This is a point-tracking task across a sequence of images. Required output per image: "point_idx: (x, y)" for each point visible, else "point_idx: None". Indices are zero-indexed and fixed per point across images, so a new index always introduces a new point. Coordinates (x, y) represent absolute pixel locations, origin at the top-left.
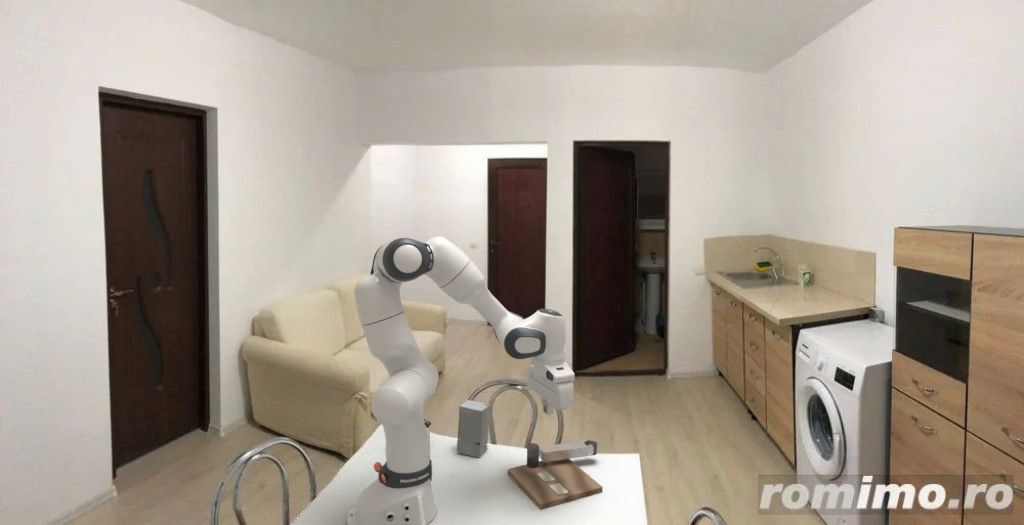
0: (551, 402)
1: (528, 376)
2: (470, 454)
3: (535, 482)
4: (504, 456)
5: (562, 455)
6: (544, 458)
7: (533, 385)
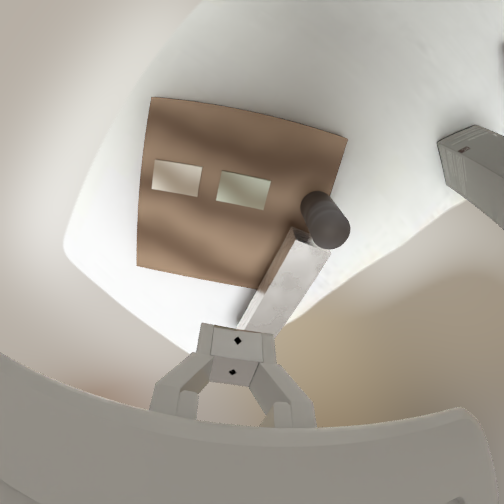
0: (64, 398)
1: (483, 474)
2: (455, 134)
3: (241, 149)
4: (403, 192)
5: (267, 279)
6: (291, 234)
7: (418, 461)
